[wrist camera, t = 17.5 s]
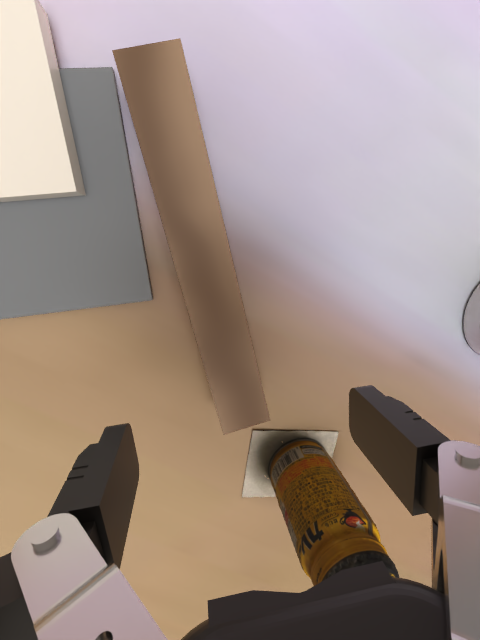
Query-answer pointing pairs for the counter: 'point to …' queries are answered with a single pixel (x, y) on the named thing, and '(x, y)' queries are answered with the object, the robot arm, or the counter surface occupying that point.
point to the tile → (33, 110)
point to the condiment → (314, 501)
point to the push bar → (193, 225)
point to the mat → (78, 218)
